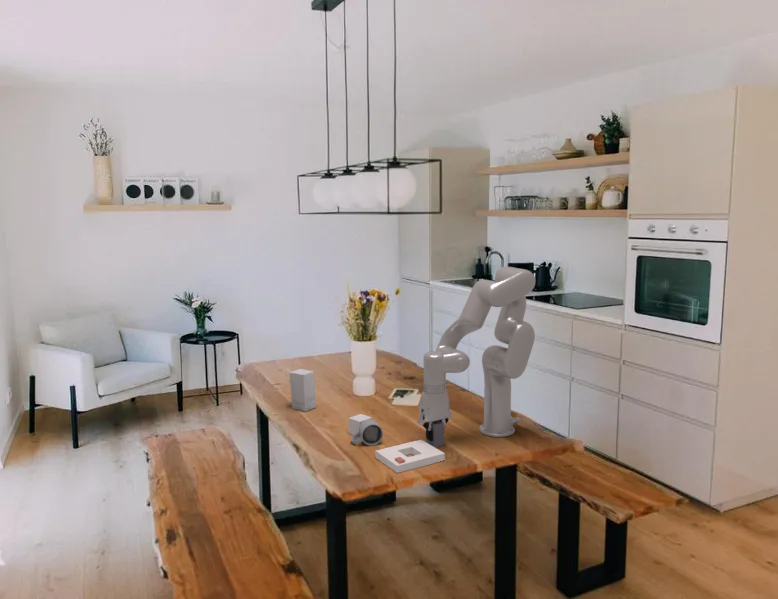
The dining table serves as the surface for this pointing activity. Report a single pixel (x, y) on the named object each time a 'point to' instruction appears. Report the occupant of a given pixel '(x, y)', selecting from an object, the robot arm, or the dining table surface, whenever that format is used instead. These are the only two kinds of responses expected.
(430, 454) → the socket plate
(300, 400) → the skincare box
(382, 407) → the dining table surface
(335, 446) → the dining table surface
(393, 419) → the dining table surface
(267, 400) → the dining table surface
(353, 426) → the light grey cube
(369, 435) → the ceramic mug
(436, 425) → the plug
